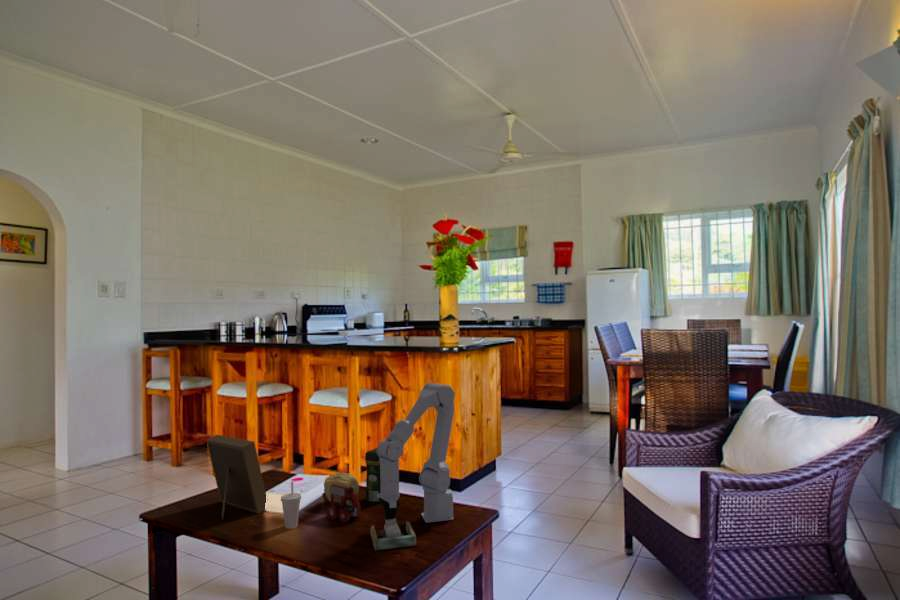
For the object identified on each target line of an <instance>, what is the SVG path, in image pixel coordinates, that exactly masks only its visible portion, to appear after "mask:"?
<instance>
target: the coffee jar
mask: <svg viewBox="0 0 900 600" xmlns="http://www.w3.org/2000/svg"><path fill="white" fill-rule="evenodd" d="M376 449H378V447H376V448H374V449H371V450H368V451H366V452H365V458H364V462H365V465H366V466H365V467H366V481H365V482H366V485H365V500H366V501H368V502H369V503H372V504H373V503H374V504H375V503H381V502H380V500H382V498H377V494H380V493H381V483H380V459H379V456H378V455H377V453H376Z"/></svg>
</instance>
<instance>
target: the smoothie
mask: <svg viewBox="0 0 900 600" xmlns="http://www.w3.org/2000/svg"><path fill="white" fill-rule="evenodd" d="M290 488H291V489H290V492H291V493H285V494H283V495H281V496H280V501H281V506H282V512H283V519H284V527H285V529H286V530H293V529H296V528H297V527H298V524H299V523H298V522H299V514H300V513H299V512H300V504H301V500H302V494H301V493H298V492H294V482H293V481H291V487H290Z"/></svg>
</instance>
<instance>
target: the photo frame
mask: <svg viewBox="0 0 900 600" xmlns="http://www.w3.org/2000/svg"><path fill="white" fill-rule="evenodd" d="M205 441H206V442H205V443H206V447H207V450H208V454H209V458H210V461H211V467H212V470H213V474H214V478H215V483H216V487H217V490H218V491H217V492H218V495H219V499H220V503H221V502H223V503H222V510H221V516H222V519H223V520H224V515H225V508H226V505H228V504H230V505H229V506H231V505H233V506H232V507H234V506H237V507H236V508H238V507H239V508H238V509H241V508H243V509H242V510H244V509H246V510H245V511H247V510H249V511H248V512H251V511H252V512H251V513H254V512H255V514H257V513H259V514H261V513H262V512H264V511H265V510H266V509H265V503H266V496H267V493H266V488H265V484H264V479H263V475H262V471H261V465H260V461H259V457H258V452H257V448H256V444H255V441H253V440H248V439H242V438H237V437H231V436H225V435H220V434H214V435H213V436H211V437H209V438H207V439H206V440H205ZM225 503H227V504H225Z"/></svg>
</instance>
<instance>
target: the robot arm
mask: <svg viewBox="0 0 900 600" xmlns="http://www.w3.org/2000/svg"><path fill="white" fill-rule="evenodd" d="M455 395H456V392H455V391H454V390H453V388H452V386H450V385H448V384H441V383H434V382H427V383H425V385H424V386H423V388H422V389H421V390H420V391H419V397H418V398H417V400H416V401H415V403H414V405H413V406H412V408H411V409H410V411H409V413H408V414H407V416H406V418H404V419H401V420H398V421H397V422H396V423H395V426H394V427H393V428H392V430H391V432H390V433H389V434H388V435H387V436H386V439H382V440H381V441H380V442H379V444H378V445H377V448H378V449H376V448H375V449H376V453H377V455H378V456H379V459H380V483H381V493H380V494H377V498H382V500H380V502H379V503H381V506H382V509H383V512H384V518H385V519H384V520H387V519H396V514H397V510H398V508H399V506H400V499H399V498H400V495H401V494H400V467H399V466H400V465H399V464H400V463H399V462H400V460H399V459H400V458H401V457H402V455H403V452H404V451H403V450H404V447H405V444H406V443H407V442H408V441H409V439H410V437H411V436H412V435H413V433H414V432H415V424H416V423H417V422H418V421H419V420H420V419H421V418H422V416H423V415H424V414H425V413H426V411H427V410H428V409H429V408H432V407H433V408H434V409H435V410H436V412H437V414H436V421H435V425H434V431H433V437H432V442H431V448H430V452H429V453H430V454H429V457H428V458H429V459H427V460H426V461H425V462H424V463H423V466H422V469H421V471H420V473H419V477H418V482H419V484H420V485H421V486H422V490H423V512H421V514H420V515H421V517H422V519H423V521H424V522H425V523H435V522H444V521H445V522H446V521H453V520H454V519H455V518H454V496H453V491H452V489H451V488H450V485H451V477H450V472H451V470H450V467H449V466H448V464H447V462H446V460H447V456H448V455H447V454H448V450H449V443H450V437H451V431H452V426H453V420H454V414H455Z"/></svg>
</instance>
